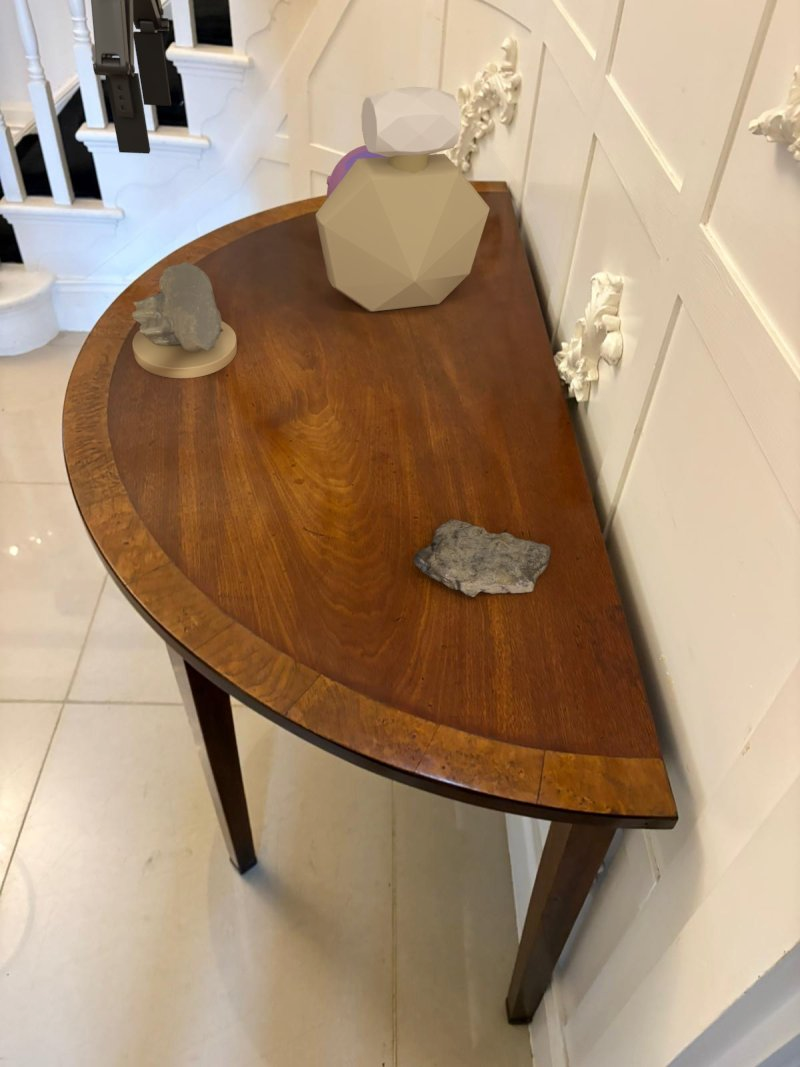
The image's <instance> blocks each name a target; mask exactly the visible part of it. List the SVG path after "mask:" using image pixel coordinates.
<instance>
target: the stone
mask: <svg viewBox="0 0 800 1067" xmlns="http://www.w3.org/2000/svg"><path fill="white" fill-rule="evenodd" d="M551 554H552V549H551V547H550V546H549V545H547V544H545V543H539V542H538V543H537V542H535V541H533V540H525V539H522V538H516V537H515V536H514V535H512V534H511V533H509V532H500V533H492V532H489V531H488V530H486V529H485V527H483V526H479V525H478V526H476V525H474V524H472V523H470V522H467V521H462V520H457V519H455V518H452V519H449V520H447V521H446V522H444V523H442V524H441V525H440V526H438V527H437V528H436V529H435V531H434V534H433V538H432V540H431V542H430V544H429V545H427V546H426V547H424V548H420V549H419V550H418V551H417V552H415V553H414V556H413V559H412V562H413V564H414V566H416V568H418V569H419V570H420V571H421V573H422V574H424V575H426V576H428V577H429V578H431V579H432V580H435V581H437V582H440V583H441V584H443V585H445V586H446V587H447V588H449V589H450V590H457V591H460V592H461V593H463V594H464V595H466V596H468V597H470V598H474V597H476V596H477V595H478V594H479V593H480V592H482V593H489V594H491V595H494V594H495V595H496V594H507V593H509V594H525V593H533V592H534V590H535V586H536V583H537V579H538V578H539V577H540V576H541V575H542V574H543V573H544V572H545V570H546V568H548V565H549V562H550V559H551Z"/></svg>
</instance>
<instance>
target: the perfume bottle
mask: <svg viewBox="0 0 800 1067" xmlns="http://www.w3.org/2000/svg"><path fill="white" fill-rule="evenodd" d="M360 116H361V117H360V118H361V131H362V137H363V142H364V145H366V147H367V149H368V151H369V152H372V153H376V154H379V155H383V156H386V157H381V158H364V159H357V160H356V162H355V163H354V164H353V166H352V167H351V168H350V170H349V171H348V172H347V174H346V175H345V176H344V177H343V179H342V180H341V181H340V183H339V184H338V185H337V187H336V188H335V189H334V191H333V192H332V193H331V195H330V196H329V197H328V199H327V198H326V200H325V201H324V202H323V203H322V205H321V206H320V208H319V209H318V211H317V212H316V213H315V220H316V225H317V230H318V235H319V240H320V244H321V250H322V254H323V260H324V265H325V270H326V275H327V279H328V282H329V283H330V285H331V287H332V288H333V289H334V290H336V291H338V292H340V293H341V294H342V295H344V296H345V297H346V298H348V299H350V300H351V301H352V302H353V303H355V304H357V305H358V306H360V307H361V308H362V309H364V310H366V311H367V312H371V313H372V312H379V311H389V310H397V309H398V310H399V309H406V308H415V307H424V306H433V305H440V304H441V303H442V302H443V301H444V300H445V299H446V298H447V297H448V296H449V295H450V294H451V293H452V292H453V291H454V290H455V289H456V288H457V287H458V286H459V285H460V284H461V283H462V282H463V281H464V280H465V279H467V277H468V276H469V275H470V274H471V272H472V268H473V265H474V262H475V258H476V255H477V251H478V249H479V245H480V242H481V238H482V235H483V232H484V228H485V227H486V226H485V225H486V223H487V220H488V216H489V212H490V209H491V208H490V206H489V205H488V204H487V203H486V202H485V200H484V199H483V198H482V196H481V195H480V194H479V193H478V191H477V190H476V189H475V187H474V186H473V185H472V184H471V183H470V181H469V180H468V178H467V177H466V176H465V175H464V174H463V172H462V171H461V170H460V169H459V168H458V166H457V164H455V163H454V162H453V161H452V160H451V159H450V158H449V157H448V156H447V154H445V153H440V152H443V151H448V150H450V149H454V148H455V147H456V145H457V144H458V143H459V138H460V134H461V124H462V123H461V120H462V119H461V118H462V117H461V111H460V108H459V102H458V100H457V99H456V97H455V95H454V94H452V93H450V92H446V91H444V90H441V89H438V88H435V87H422V86H409V87H400V88H393V89H388V90H385V91H382V92H379V93H376V94H372V95H369V96H368V95H367V96H366V97H365V99H364V100H363V103H362V107H361V114H360Z"/></svg>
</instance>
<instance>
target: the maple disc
mask: <svg viewBox="0 0 800 1067" xmlns="http://www.w3.org/2000/svg"><path fill="white" fill-rule="evenodd" d="M221 328H222V329H223V331H222V332H221V334H220V337H219V338H218V339H217V340H216V342H215V346H214V348H211V349H210V350H209V351H207V350H204V349H203V350H202V349H201V350H199V351H197V352H189V351H187V350H185V349H184V348H183V347H182V345H181V344H178V345H170V346H168V345H156V344H154V343H152V342H151V341H150V340H149V339H148V338H146V337H145V336H144V335H143V334H142V333H141V332H140V329H139V330H138V331H137V332H136V333H135V335H134V336H133V339H132V351H133V356H134V359H135V361H136V363H137V365H139V366H140V367H141V368H142V369H143V370H145V371H147V372H149V373H151V374H153V375H155V376H159V377H163V378H169V379H193V378H199V377H204V376H208V375H211V374H214V373H216V372H219V371H221V370H222V369H224V368H226V366H228V365H230V363H231V362H233V360H234V359H235V357H236V356H237V353H238V341H237V340H238V339H237V335H236V332H235V331H234V329H233V328H232V327H231V326H230V325H229V324H228V323H226V322H224V321H223V320H222V322H221Z"/></svg>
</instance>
